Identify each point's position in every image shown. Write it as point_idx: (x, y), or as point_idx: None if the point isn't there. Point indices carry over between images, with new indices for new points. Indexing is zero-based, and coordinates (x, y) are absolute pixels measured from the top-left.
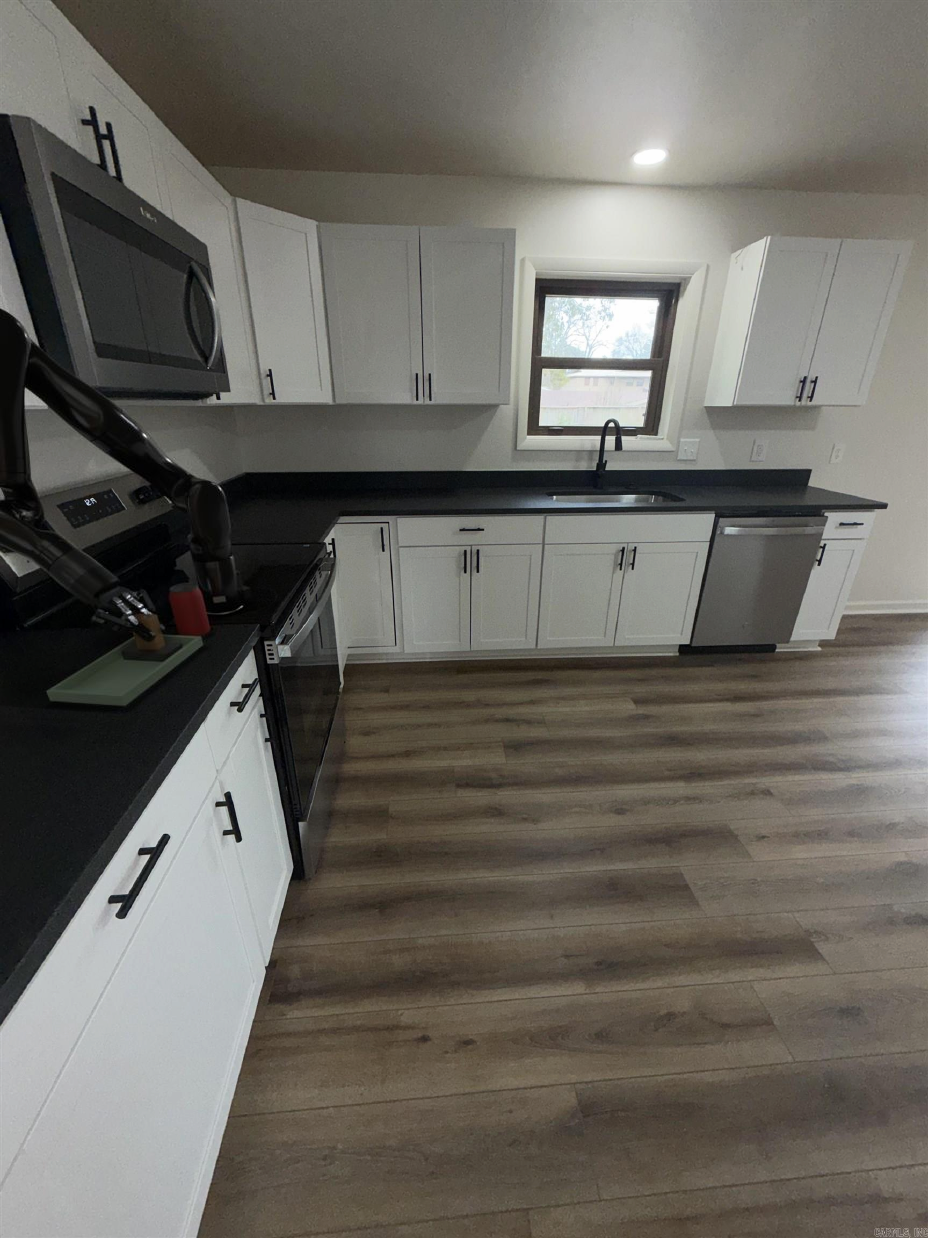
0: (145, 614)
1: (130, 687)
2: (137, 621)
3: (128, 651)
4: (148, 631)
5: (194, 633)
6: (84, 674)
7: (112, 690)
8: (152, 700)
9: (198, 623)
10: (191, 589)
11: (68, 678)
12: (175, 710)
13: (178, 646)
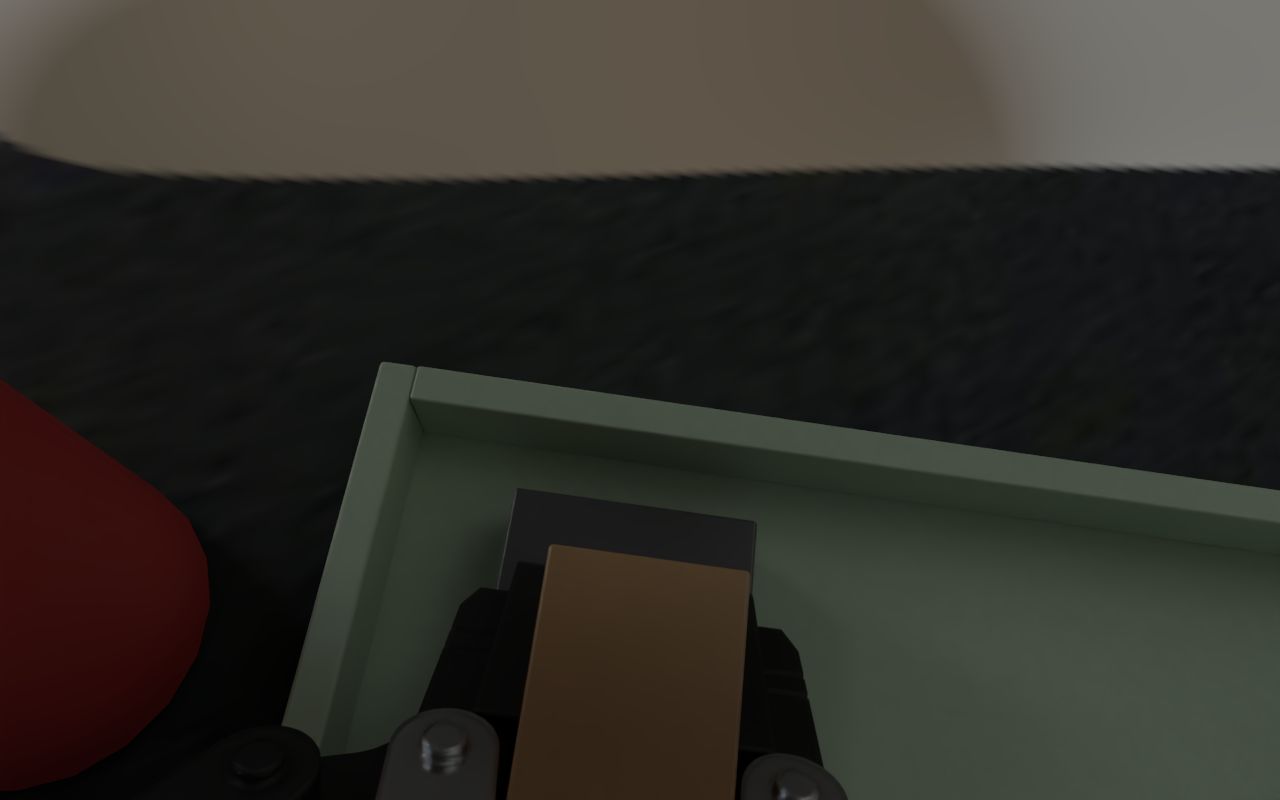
0: (536, 759)
1: None
2: (779, 775)
3: None
4: (753, 641)
5: (180, 534)
6: None
7: (1241, 779)
8: (1192, 441)
9: (99, 454)
10: None
11: None
12: (1246, 255)
13: (574, 496)
